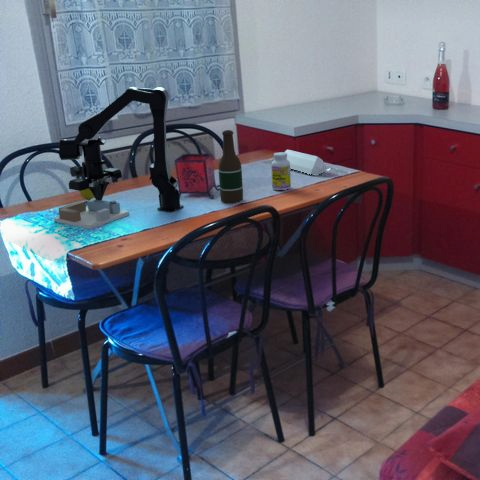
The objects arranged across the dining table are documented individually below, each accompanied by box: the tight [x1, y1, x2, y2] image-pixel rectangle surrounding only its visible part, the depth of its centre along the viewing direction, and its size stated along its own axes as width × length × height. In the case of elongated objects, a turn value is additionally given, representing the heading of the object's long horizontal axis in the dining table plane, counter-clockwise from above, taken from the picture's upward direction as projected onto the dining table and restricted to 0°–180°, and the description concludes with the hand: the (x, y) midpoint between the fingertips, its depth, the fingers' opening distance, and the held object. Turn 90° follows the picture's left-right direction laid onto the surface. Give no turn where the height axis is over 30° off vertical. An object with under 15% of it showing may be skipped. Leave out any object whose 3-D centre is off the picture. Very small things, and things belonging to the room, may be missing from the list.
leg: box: [86, 198, 121, 214], centre depth 227 cm, size 12×3×4 cm, turn 58°
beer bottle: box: [218, 129, 244, 204], centre depth 231 cm, size 8×8×24 cm
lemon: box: [79, 188, 95, 201], centre depth 244 cm, size 6×6×8 cm
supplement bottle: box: [270, 151, 292, 191], centre depth 244 cm, size 7×7×13 cm
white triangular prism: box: [284, 149, 327, 176], centre depth 270 cm, size 7×7×24 cm
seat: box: [53, 200, 130, 230], centre depth 224 cm, size 18×17×4 cm
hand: (99, 203), depth 231 cm, fingers closed
